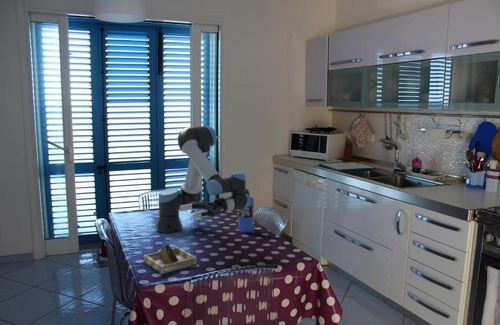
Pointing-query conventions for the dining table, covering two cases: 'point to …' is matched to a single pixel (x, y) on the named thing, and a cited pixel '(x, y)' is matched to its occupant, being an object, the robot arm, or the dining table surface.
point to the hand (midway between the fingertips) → (187, 211)
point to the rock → (168, 255)
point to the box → (161, 266)
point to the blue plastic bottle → (246, 217)
